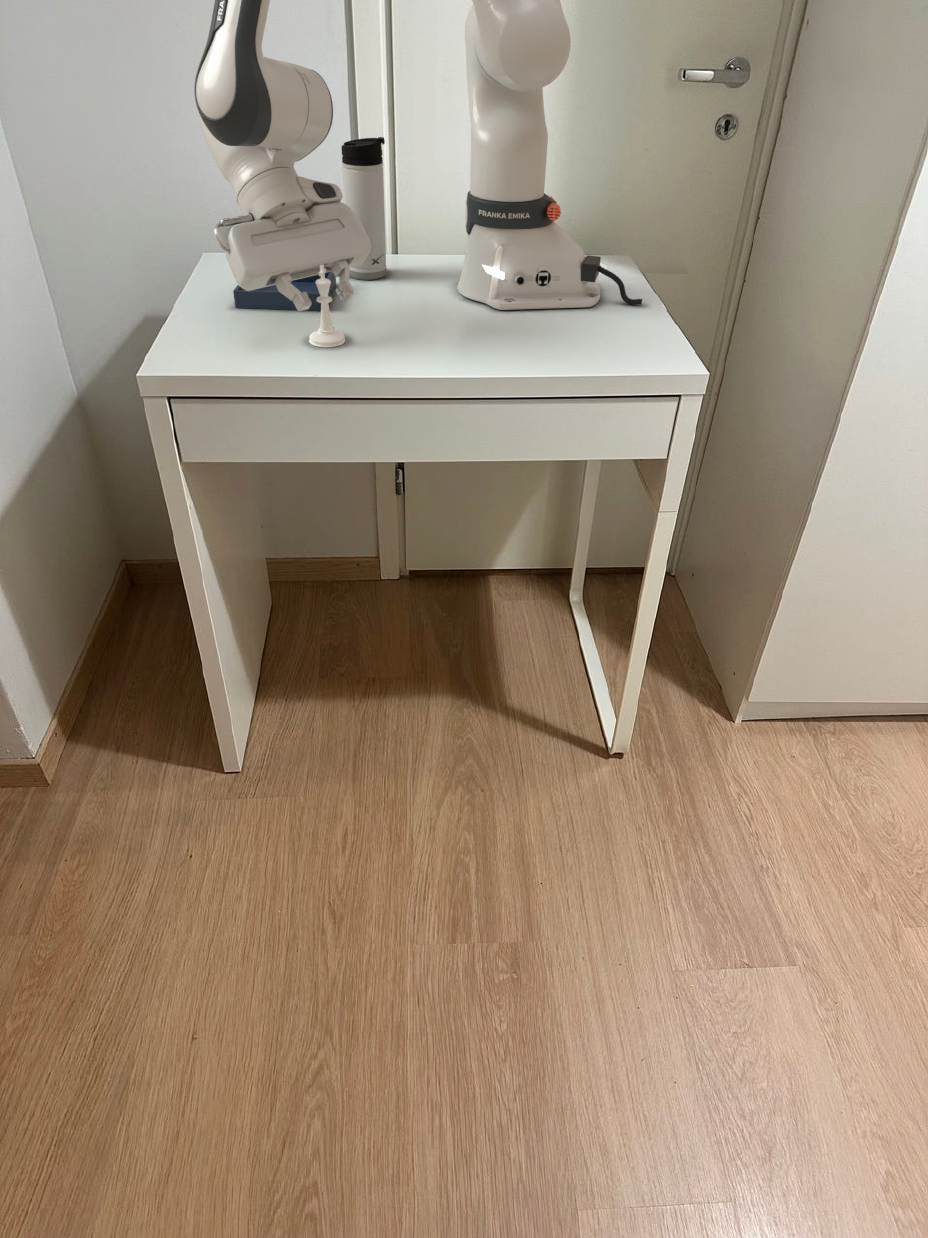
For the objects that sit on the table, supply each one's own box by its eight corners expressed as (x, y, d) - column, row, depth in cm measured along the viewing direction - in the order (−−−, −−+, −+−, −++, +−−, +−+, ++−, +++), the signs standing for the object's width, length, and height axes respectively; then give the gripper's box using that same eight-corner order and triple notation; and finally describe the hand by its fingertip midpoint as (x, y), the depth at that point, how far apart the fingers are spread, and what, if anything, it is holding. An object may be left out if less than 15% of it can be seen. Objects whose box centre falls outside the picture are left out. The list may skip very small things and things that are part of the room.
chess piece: (349, 336, 122) (345, 261, 116) (339, 348, 119) (334, 272, 112) (315, 332, 123) (309, 258, 117) (304, 345, 119) (297, 269, 113)
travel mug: (386, 280, 142) (382, 141, 130) (345, 279, 142) (337, 140, 130) (390, 269, 147) (386, 134, 134) (350, 267, 147) (343, 132, 134)
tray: (336, 284, 140) (335, 268, 138) (323, 310, 130) (322, 293, 129) (253, 281, 140) (251, 265, 138) (235, 307, 130) (233, 290, 129)
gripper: (214, 206, 108) (268, 306, 109) (348, 183, 119) (395, 274, 120) (202, 236, 114) (252, 332, 114) (330, 211, 125) (376, 299, 125)
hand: (327, 302), depth 117 cm, fingers open, 5 cm apart
